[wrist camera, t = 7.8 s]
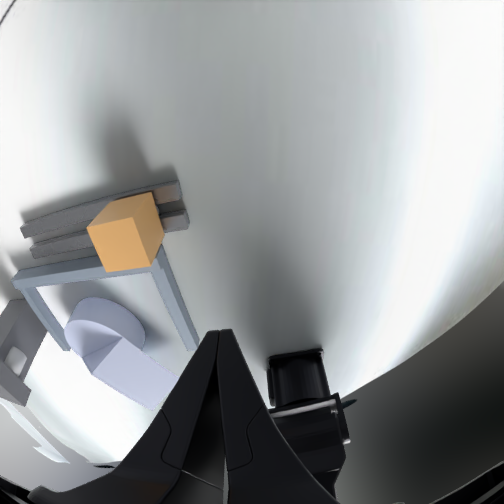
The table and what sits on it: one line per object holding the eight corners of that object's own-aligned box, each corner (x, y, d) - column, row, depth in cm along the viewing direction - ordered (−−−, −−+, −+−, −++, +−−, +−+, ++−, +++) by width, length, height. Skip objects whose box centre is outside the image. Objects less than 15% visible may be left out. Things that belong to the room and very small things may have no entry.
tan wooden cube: (155, 187, 19) (132, 217, 15) (167, 228, 21) (151, 266, 17) (115, 196, 19) (86, 227, 15) (128, 235, 21) (106, 272, 17)
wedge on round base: (185, 355, 31) (100, 284, 24) (179, 404, 25) (75, 335, 19) (139, 372, 33) (63, 314, 27) (129, 414, 27) (42, 357, 21)
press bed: (162, 244, 22) (116, 370, 12) (199, 339, 29) (190, 444, 19) (-7, 275, 23) (-53, 341, 13) (38, 340, 30) (8, 406, 20)
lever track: (178, 179, 19) (175, 184, 18) (189, 222, 21) (187, 229, 20) (25, 222, 20) (19, 227, 19) (39, 253, 22) (34, 258, 21)
